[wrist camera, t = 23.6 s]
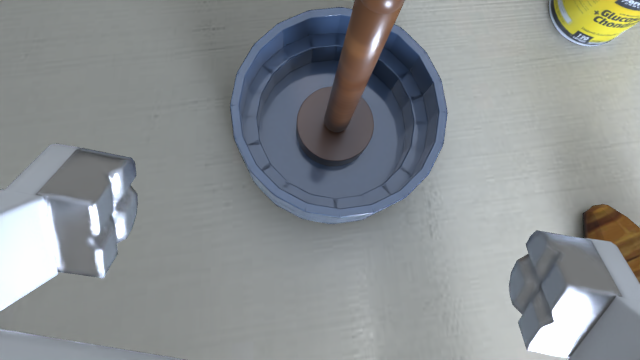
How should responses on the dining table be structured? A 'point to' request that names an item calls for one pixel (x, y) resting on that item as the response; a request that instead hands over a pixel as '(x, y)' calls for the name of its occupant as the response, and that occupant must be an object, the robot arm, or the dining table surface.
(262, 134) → the bowl
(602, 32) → the pill bottle
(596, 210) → the croissant
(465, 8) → the dining table surface
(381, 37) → the wooden plunger
